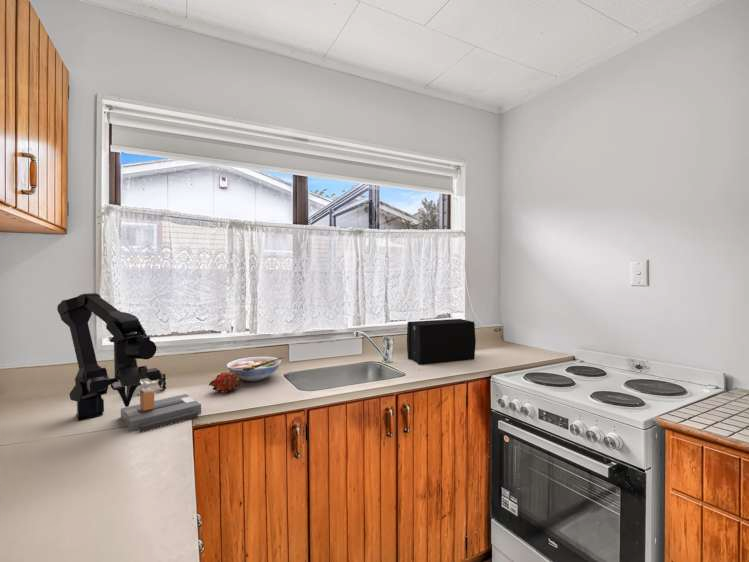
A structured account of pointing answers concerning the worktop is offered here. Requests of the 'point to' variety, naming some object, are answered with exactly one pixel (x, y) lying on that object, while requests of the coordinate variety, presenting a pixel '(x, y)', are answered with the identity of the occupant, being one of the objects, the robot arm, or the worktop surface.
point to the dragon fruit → (226, 382)
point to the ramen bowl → (254, 367)
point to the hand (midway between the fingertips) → (126, 406)
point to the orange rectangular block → (147, 399)
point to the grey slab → (168, 421)
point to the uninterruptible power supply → (440, 341)
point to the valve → (151, 384)
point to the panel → (159, 411)
